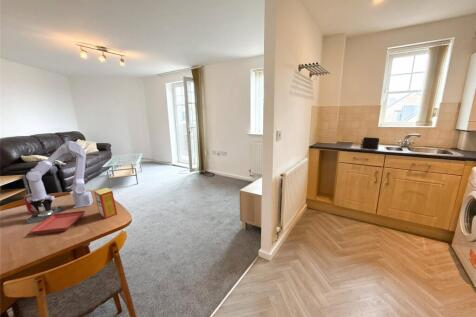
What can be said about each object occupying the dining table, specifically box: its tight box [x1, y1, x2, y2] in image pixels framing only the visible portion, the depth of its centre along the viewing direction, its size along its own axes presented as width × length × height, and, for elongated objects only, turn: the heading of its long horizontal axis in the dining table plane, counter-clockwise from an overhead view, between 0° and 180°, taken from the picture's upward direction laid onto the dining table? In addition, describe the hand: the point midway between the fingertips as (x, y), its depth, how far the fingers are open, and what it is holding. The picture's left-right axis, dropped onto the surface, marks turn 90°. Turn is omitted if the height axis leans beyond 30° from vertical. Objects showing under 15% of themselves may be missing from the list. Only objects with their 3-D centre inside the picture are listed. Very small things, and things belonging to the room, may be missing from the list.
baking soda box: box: [94, 187, 118, 220], centre depth 119 cm, size 10×6×16 cm
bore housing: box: [26, 205, 64, 225], centre depth 120 cm, size 12×12×3 cm
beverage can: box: [23, 193, 37, 214], centre depth 125 cm, size 6×6×12 cm
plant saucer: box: [28, 210, 86, 235], centre depth 111 cm, size 18×18×3 cm
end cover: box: [37, 204, 53, 217], centre depth 120 cm, size 7×7×7 cm
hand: (44, 210), depth 120 cm, fingers closed on end cover, 4 cm apart
